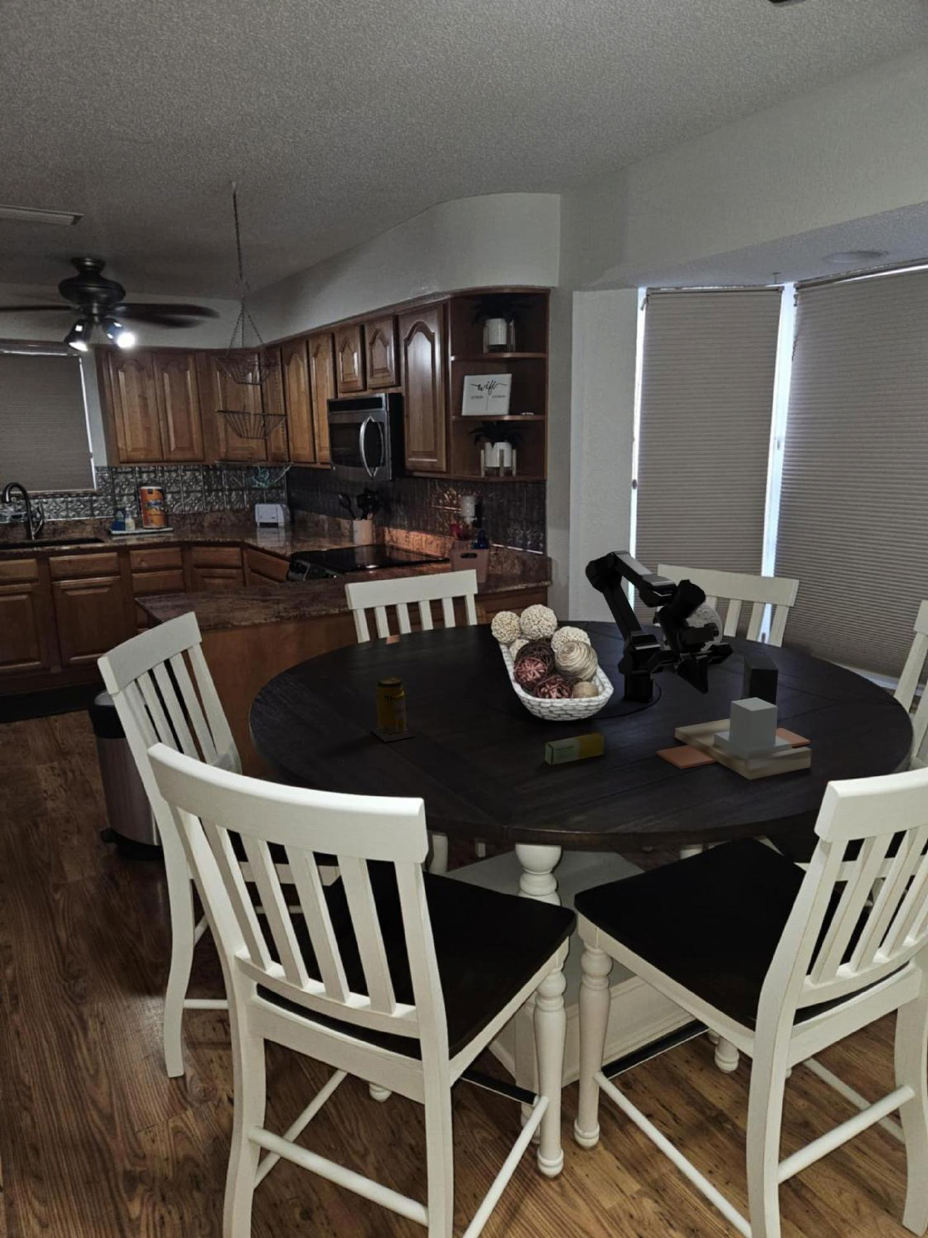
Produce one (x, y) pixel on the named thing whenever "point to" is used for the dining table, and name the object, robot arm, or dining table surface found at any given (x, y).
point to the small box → (760, 679)
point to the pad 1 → (686, 756)
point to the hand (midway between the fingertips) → (705, 693)
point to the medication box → (574, 748)
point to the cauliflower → (703, 617)
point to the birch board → (750, 767)
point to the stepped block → (752, 730)
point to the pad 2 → (791, 737)
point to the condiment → (391, 706)
